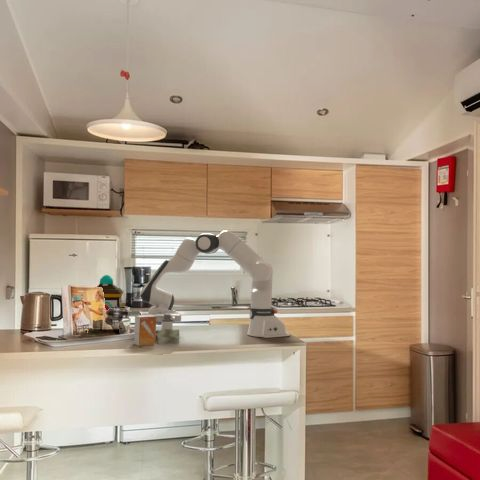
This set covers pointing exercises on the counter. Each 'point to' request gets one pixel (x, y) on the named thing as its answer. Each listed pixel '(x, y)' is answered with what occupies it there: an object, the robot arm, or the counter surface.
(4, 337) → the counter surface
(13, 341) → the counter surface
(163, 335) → the socket
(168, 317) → the connector
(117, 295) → the decorative lantern
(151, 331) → the small box
